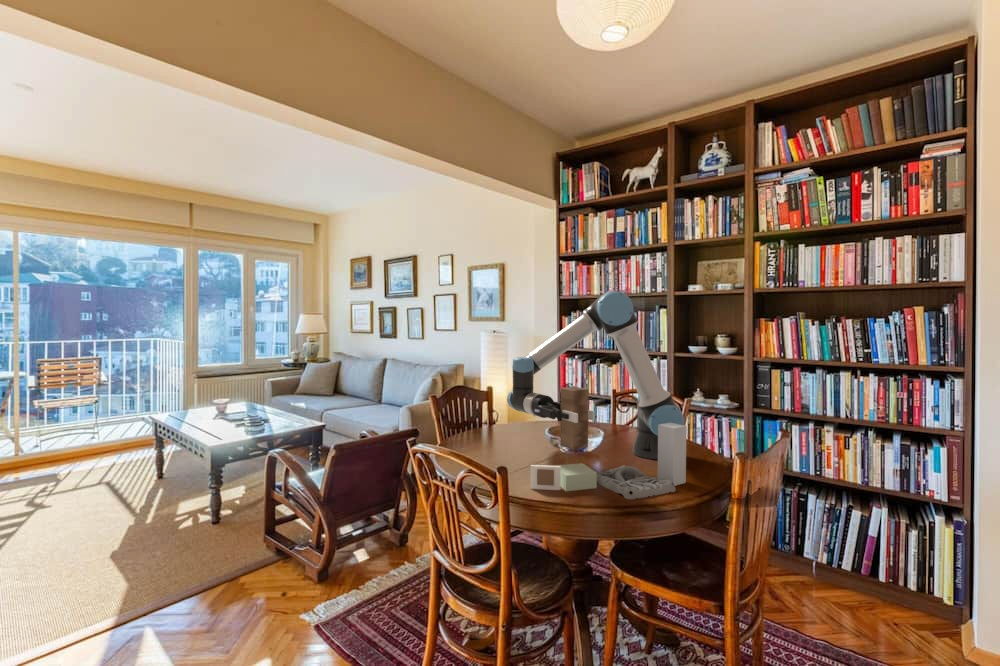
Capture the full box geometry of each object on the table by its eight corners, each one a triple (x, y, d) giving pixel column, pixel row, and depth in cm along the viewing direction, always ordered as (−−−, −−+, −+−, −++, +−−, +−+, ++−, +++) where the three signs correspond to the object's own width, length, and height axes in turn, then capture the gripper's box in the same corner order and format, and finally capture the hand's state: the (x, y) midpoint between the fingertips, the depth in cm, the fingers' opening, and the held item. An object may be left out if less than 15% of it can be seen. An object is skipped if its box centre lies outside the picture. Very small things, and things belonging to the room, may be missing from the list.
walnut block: (575, 442, 155) (575, 386, 155) (587, 446, 150) (588, 389, 150) (560, 445, 152) (560, 388, 151) (573, 449, 147) (573, 390, 146)
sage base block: (582, 478, 158) (582, 463, 157) (596, 488, 148) (596, 472, 148) (553, 481, 155) (553, 465, 155) (566, 492, 145) (566, 475, 145)
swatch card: (530, 487, 148) (530, 464, 148) (560, 488, 147) (560, 466, 147) (530, 489, 147) (530, 466, 146) (560, 490, 146) (560, 467, 145)
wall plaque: (679, 492, 146) (679, 479, 146) (628, 502, 138) (628, 488, 138) (628, 469, 167) (628, 458, 167) (582, 477, 159) (582, 465, 159)
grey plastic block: (669, 477, 158) (670, 422, 157) (685, 482, 153) (686, 425, 152) (657, 480, 154) (658, 424, 154) (673, 486, 149) (674, 428, 149)
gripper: (560, 413, 171) (608, 425, 152) (516, 419, 161) (561, 433, 141) (560, 391, 171) (608, 401, 151) (516, 396, 161) (561, 408, 141)
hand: (585, 417), depth 146 cm, fingers closed on walnut block, 6 cm apart
